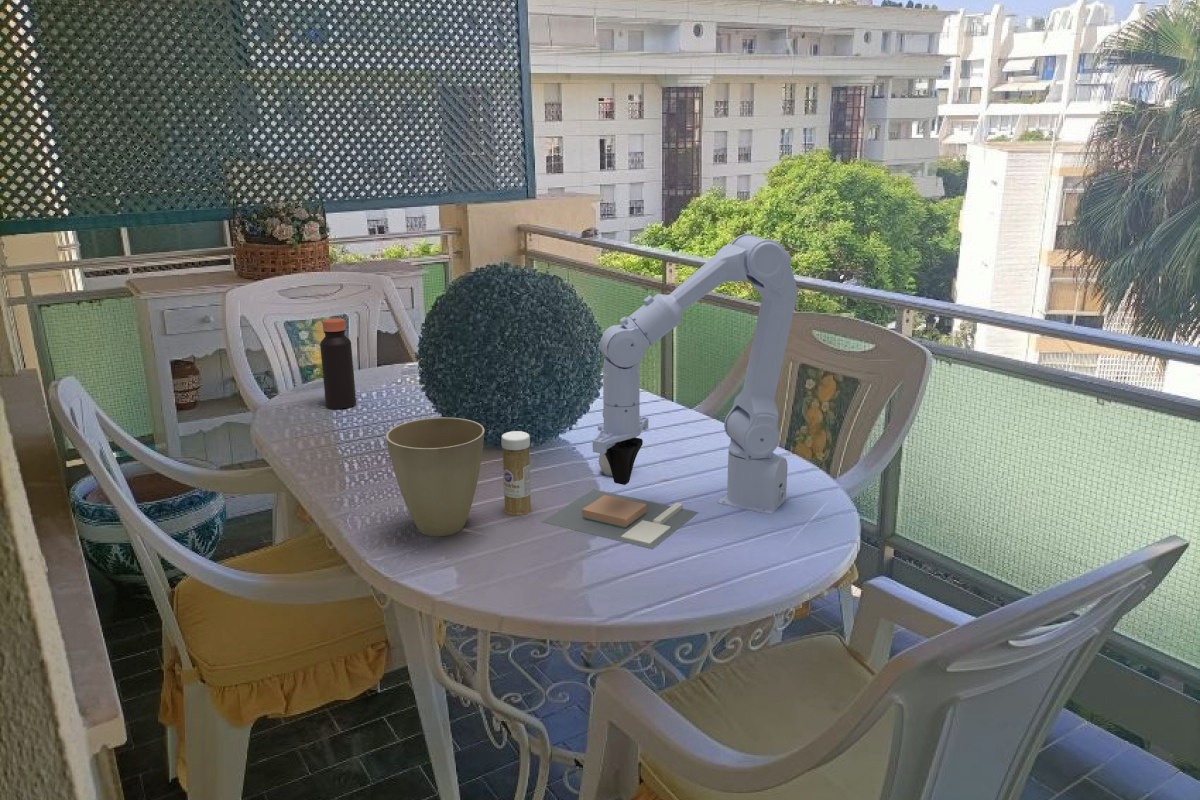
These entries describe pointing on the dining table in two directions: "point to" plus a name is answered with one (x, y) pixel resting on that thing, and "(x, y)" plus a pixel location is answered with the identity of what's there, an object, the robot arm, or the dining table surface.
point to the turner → (652, 527)
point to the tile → (614, 511)
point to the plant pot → (437, 470)
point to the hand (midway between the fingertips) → (621, 482)
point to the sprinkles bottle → (516, 473)
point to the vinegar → (337, 365)
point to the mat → (575, 521)
